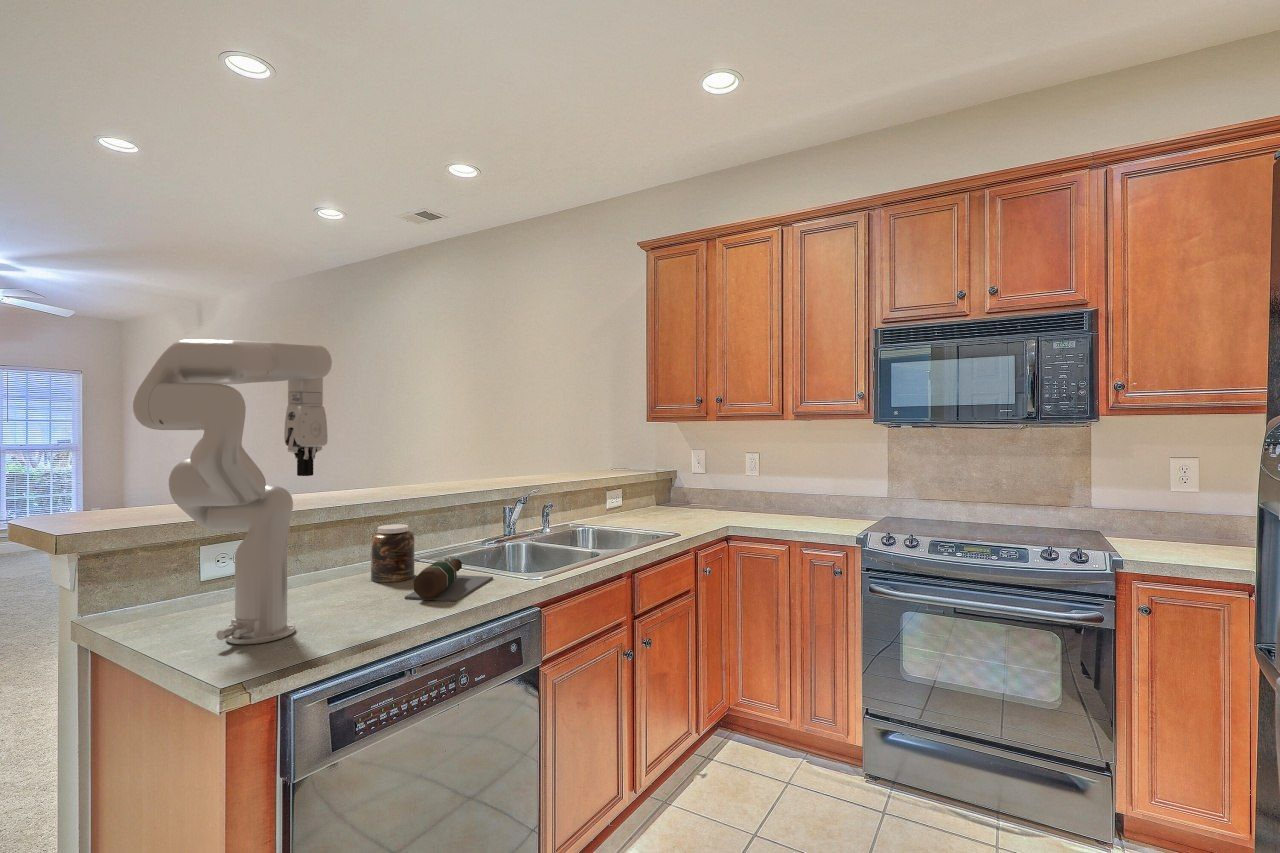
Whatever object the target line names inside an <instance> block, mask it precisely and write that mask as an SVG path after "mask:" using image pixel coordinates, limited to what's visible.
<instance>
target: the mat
mask: <svg viewBox="0 0 1280 853" xmlns="http://www.w3.org/2000/svg"><path fill="white" fill-rule="evenodd" d="M493 579H494V577H493V576H489V575H488V576H484V575H482V576H481V575H465V574H464V575H459V574H457V579H456V580H455V581H454V582H453V583H452V584H451V585H450V586H449V587H448V588H447V589H446V590H444V591H443V592H442V593H441V594H439V595H438V596H437V597H435V598H434V599H422V598H421V597H420V596H419V595H418V594H417V593H416V592H415V591H414V590H413V591H412V592H411V593H408V594H407V595H405V596H404V600H421V601H438V602H439V601H440V602H442V601H443V602H457V601H460V600H461V599H462V598H464V597H465V596H467V595H469V594H471V593H472V592H473V591H476V590H477V589H479V588H480V587H482V586H483V585H485V584H487V583H489V582H490V581H491V580H493Z"/></svg>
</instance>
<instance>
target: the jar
mask: <svg viewBox="0 0 1280 853" xmlns="http://www.w3.org/2000/svg"><path fill="white" fill-rule="evenodd" d="M370 551H371V552H370V580H371V581H372V582H375V583H381V584H383V583H386V584H387V583H397V582H404V581H407V580H411V579H412V578H413V579H414V578H415V534H414V532H413V531H409V525H408V524H400V523H399V524H398V523H394V524H384V525H379V526H378V527H377V532H376V533H374V534H372V536H371V543H370Z"/></svg>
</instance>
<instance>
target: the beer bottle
mask: <svg viewBox="0 0 1280 853" xmlns="http://www.w3.org/2000/svg"><path fill="white" fill-rule="evenodd" d="M462 565H463V562H462V561H461V560H460V559H459V558H452V559H451V560H436V561H435V562H433V563H432V564H430V565H428V566H426V567H425V568H424V569H422V570H421V572H419V573H418V574H417V575H416V577H415V576H414V577H413V592H414V591H415V592H416V593H417V594H418V595H419V596H420V597H421V598H422V599H434V598H435V597H437V596H438V595H439V594H441V593H442V592H443V591H444V590H446V589H447V588H448V587H449V586H450V585H451V584H452V583H453V582H454V581H455V580H456V579H457V575H458V574H457V573H458V572H459V571H460V570H461V569H462V567H463V566H462Z"/></svg>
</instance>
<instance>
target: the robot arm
mask: <svg viewBox="0 0 1280 853" xmlns="http://www.w3.org/2000/svg"><path fill="white" fill-rule="evenodd" d="M332 363H333V361H332V356H331V354H330V351H329V350H328V349H327V348H326V347H324V346H322V345H320V344H318V345H315V344H314V345H313V344H292V343H283V342H272V341H261V340H260V341H259V340H258V341H257V340H254V341H253V340H233V339H231V340H229V339H227V340H226V339H219V340H218V339H180V340H177V341H176V342H174V343H173V344H171V345H170V346H169V347H167V348H166V350H164V351H163V353H162V354H161V355H160V356H159V358H158V359H157V360H156V362H155V364H154V365H153V366H152V368H151V369H150V371H148V373H147V374H146V376H145V378H144V380H143V381H142V382H141V384H140V385H139V386H138V388H137V390H136V392H135V395H134V398H133V401H132V411H133V414H134V417H135V419H136V420H137V422H138V423H140V425H142V426H143V427H146V428H149V429H151V430H157V431H203V434H202V437H201V438H200V439H199V440H198V441H197V443H196V444H195V445H194V447H193V449H192V451H191V453H190V457H189V458H186V459H184V460H181V461H180V462H179V463H177V464H176V465H175V466H174V467H173V468H172V470H171V471H170V474H169V478H168V489H169V493H170V496H171V498H172V500H173V502H174V503H175V504H176V505H177V506H178V508H179V509H181V510H182V511H183V512H184V513H185V514H187V516H189V517H190V518H191V519H192V520H193V521H194V522H196V523H197V524H198V525H199V526H200V527H201V528H204V529H206V530H208V531H213V532H214V531H215V532H240V531H241V532H247V534H246V536H245V537H244V538H243V539H242V541H241V542H240V544H239V545H238V547H237V548H236V551H235V554H234V618H232V619H231V620H230V622H231V624H230V625H229V626H228V627H224V628H223V629H220V630H217V632H216V635H215V636H216V638H217V640H219V641H223V640H225V641H226V642H228V643H230V644H235V645H256V644H263V643H269V642H273V641H276V640H280V639H284V638H287V637H289V636H290V635H292V634H294V632H295V631H296V624H295V623H294V622H293V621H288V545H289V544H288V543H289V530H290V523H291V518H292V514H293V509H294V501H293V497H292V494H291V493H290V492H289V491H288V490H287V489H286V488H283V487H281V486H278V485H272V484H271V485H270V484H267V483H266V477H265V476H264V474H263V472H262V471H261V469H260V467H259V466H258V465H257V464H256V463H255V462H254V460H253V459H252V458H251V456H250V455H249V454H248V453H247V452H246V451H245V448H244V447H243V445H242V444H243V434H244V427H245V419H246V412H247V411H246V410H247V409H246V408H247V407H246V403H245V401H246V400H245V399H244V396H243V395H242V393H241V392H240V391H239V390H238V389H236V388H234V387H232V386H230V385H240V384H242V385H244V384H249V383H250V384H251V383H269V382H271V383H272V382H273V383H274V382H284V381H287V407H286V413H285V418H284V419H285V420H284V429H283V430H284V432H283V433H284V436H283V438H284V443H285V444H284V445H286V446H287V452H289V453H292V454H294V458H295V460H296V466H297V467H296V475H297V476H298V477H312V476H314V459H316V454H317V453H318V452H320V451H322V449H323V447H325V446H326V445H328V425H327V424H328V423H327V414H326V409H325V407H324V397H323V396H324V394H323V393H324V391H323V390H324V386H323V385H324V384H323V383H324V378H325V377H326V376H327V375H328V374H329V373H330V371H331V370H332V369H331V368H332Z"/></svg>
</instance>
